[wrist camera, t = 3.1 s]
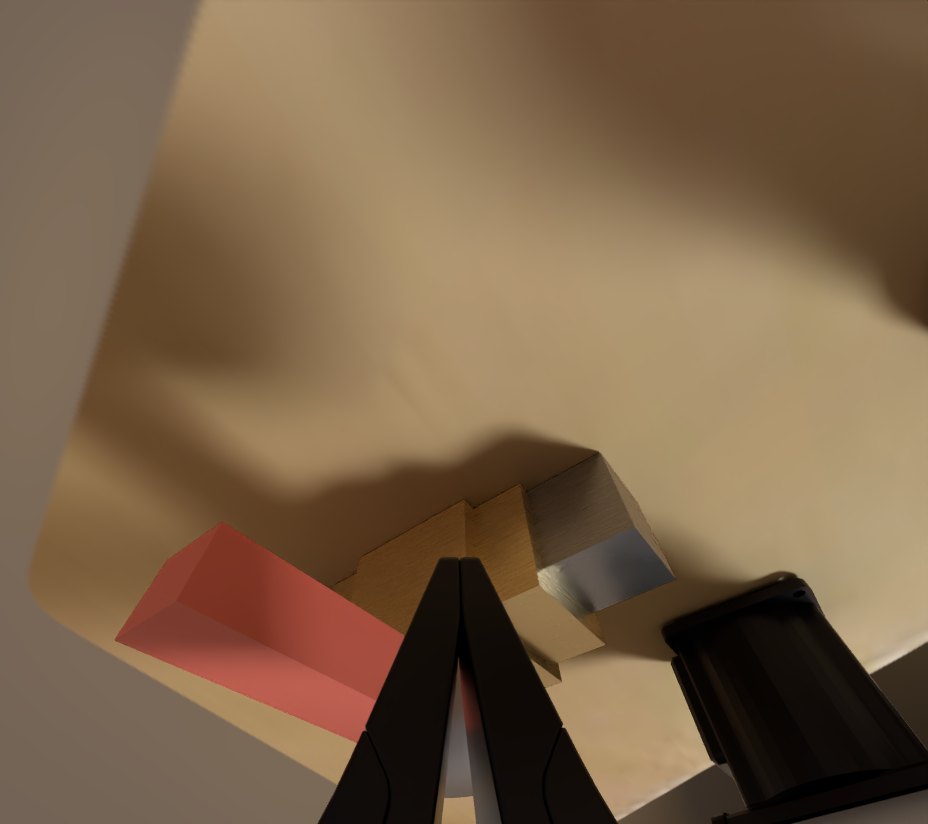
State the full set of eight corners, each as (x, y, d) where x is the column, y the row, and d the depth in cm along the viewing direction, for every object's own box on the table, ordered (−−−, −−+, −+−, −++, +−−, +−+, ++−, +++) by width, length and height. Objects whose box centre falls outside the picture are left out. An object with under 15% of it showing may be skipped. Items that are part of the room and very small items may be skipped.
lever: (530, 690, 14) (542, 777, 12) (442, 722, 15) (441, 806, 13) (248, 500, 9) (194, 599, 7) (149, 570, 10) (81, 670, 8)
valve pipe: (584, 431, 14) (632, 537, 10) (649, 518, 16) (706, 629, 12) (278, 603, 18) (237, 717, 15) (363, 651, 21) (345, 759, 17)
